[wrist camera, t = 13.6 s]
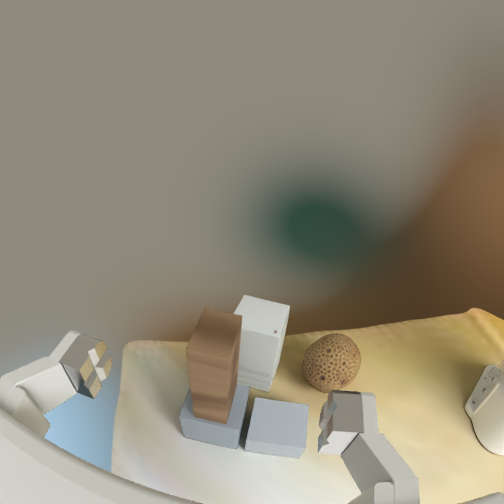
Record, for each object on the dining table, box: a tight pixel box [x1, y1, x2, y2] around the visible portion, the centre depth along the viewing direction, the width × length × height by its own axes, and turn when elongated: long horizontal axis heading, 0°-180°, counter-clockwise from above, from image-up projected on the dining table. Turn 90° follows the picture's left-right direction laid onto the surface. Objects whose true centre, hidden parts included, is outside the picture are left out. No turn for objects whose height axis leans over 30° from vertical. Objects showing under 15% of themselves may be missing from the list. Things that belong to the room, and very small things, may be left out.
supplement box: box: [233, 295, 290, 392], centre depth 45 cm, size 7×7×13 cm
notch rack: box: [179, 384, 309, 458], centre depth 36 cm, size 7×16×6 cm, turn 80°
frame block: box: [186, 308, 242, 424], centre depth 32 cm, size 6×4×13 cm
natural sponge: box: [303, 333, 361, 393], centre depth 44 cm, size 9×9×10 cm
